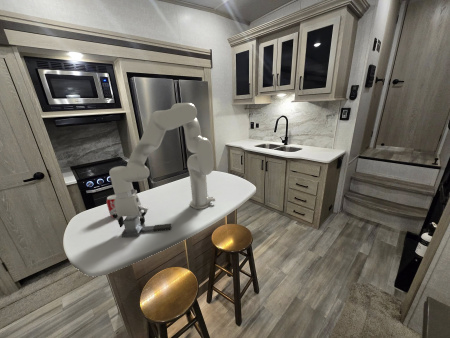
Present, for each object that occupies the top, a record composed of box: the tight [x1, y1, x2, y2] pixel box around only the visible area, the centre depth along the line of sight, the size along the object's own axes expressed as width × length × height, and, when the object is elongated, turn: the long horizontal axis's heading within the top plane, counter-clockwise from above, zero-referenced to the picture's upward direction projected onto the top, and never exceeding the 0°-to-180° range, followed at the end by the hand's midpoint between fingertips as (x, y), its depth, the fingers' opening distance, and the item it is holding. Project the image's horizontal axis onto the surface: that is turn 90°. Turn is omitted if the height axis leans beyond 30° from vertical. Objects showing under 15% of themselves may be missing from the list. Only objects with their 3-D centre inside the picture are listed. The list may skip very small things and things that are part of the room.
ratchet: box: [120, 223, 172, 239], centre depth 88 cm, size 22×8×5 cm, turn 95°
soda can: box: [106, 193, 117, 219], centre depth 100 cm, size 7×7×12 cm
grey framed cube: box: [123, 215, 140, 232], centre depth 87 cm, size 5×5×6 cm
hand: (132, 224), depth 87 cm, fingers open, 9 cm apart
